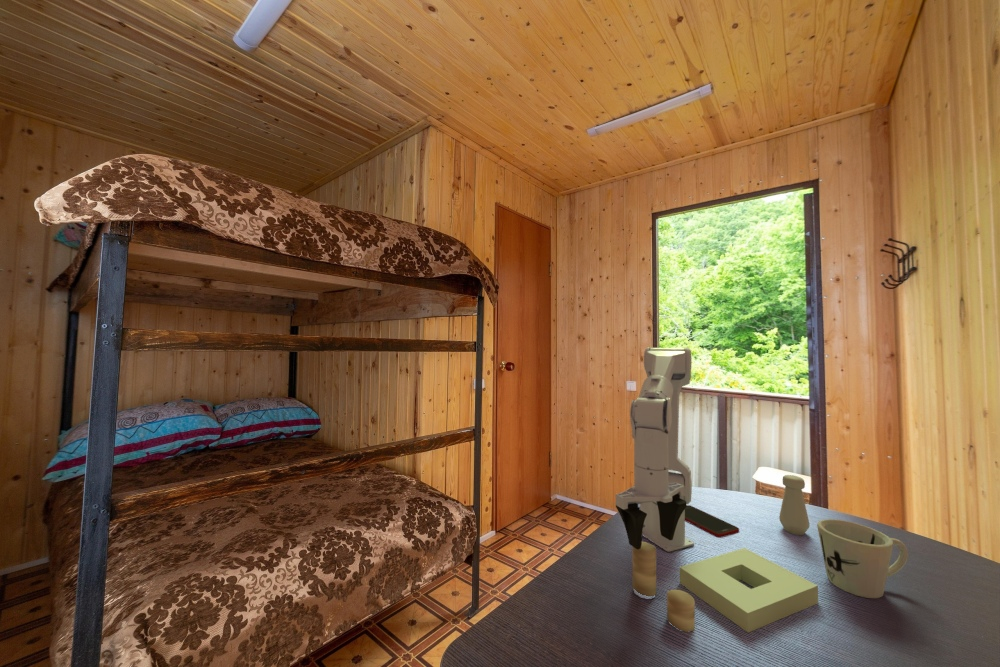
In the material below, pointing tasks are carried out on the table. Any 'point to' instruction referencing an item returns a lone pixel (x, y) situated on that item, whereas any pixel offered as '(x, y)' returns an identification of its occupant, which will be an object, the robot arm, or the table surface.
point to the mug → (858, 557)
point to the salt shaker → (794, 506)
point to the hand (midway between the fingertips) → (651, 541)
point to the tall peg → (644, 569)
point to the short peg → (681, 610)
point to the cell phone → (709, 522)
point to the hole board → (740, 604)
